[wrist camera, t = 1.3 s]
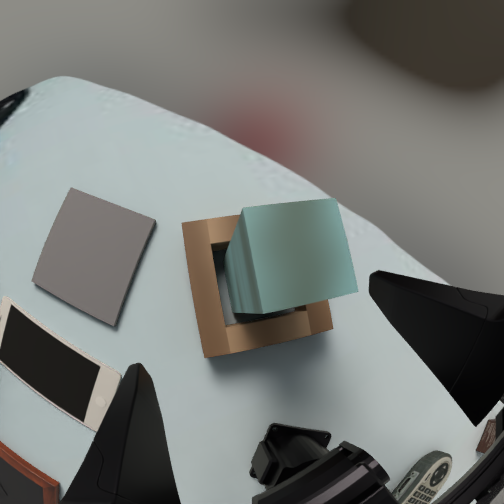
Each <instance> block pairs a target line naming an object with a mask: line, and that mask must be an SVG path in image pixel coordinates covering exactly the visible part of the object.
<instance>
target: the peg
mask: <svg viewBox="0 0 504 504" xmlns="http://www.w3.org/2000/svg"><path fill="white" fill-rule="evenodd" d="M223 264H224V270H225V275H226V281H227V286H228V292H229V297H230V302H231V308H232V312H236V313H256V314H265V313H270V312H274V311H279V310H284V309H288V308H293V307H297V306H302V305H306V304H310V303H315V302H319V301H323V300H327V299H331V298H335V297H339V296H343V295H347V294H351V293H355V292H358V287H357V282H356V277H355V273H354V268H353V264H352V259H351V255H350V251H349V246H348V242H347V238H346V234H345V230H344V227H343V223H342V219H341V215H340V212H339V208H338V204H337V201H336V198H330V199H319V200H309V201H299V202H289V203H280V204H271V205H262V206H254V207H246V208H243V209H242V212H241V214H240V217H239V219H238V222H237V225H236V227H235V230H234V233H233V235H232V238H231V241H230V244H229V246H228V249H227V252H226V254H225V257H224V260H223Z"/></svg>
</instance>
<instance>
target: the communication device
mask: <svg viewBox="0 0 504 504" xmlns="http://www.w3.org/2000/svg"><path fill="white" fill-rule="evenodd" d="M451 467H452V457H451V455H450V454H447V453H444V452H441V451H433V452H431V453H429V454H427V455H425V456H424V457H422V458H421V459H420V460H419V461H418V462H417V463H416V464H415V465H414V466H413V467H412V469H411V470H410V471H409V472H408V474H407V475H406V476H405V478H404V479H403V480H402V481H401V483H400V484H399V485H398V486H397V487H396V489H395V490H394V491H393V492H392V493H391V494H392V495H393V496H394V497H395V498H396V500H397V501H398V502H399V503H400V504H429V503H430V502H431V500H432V499H433V498H434V497H435V495H436V494H437V493H438V491H439V490H440V489H441V487H442V486H443V485H444V483H445V482H446V480H447V478H448V476H449V474H450V471H451Z"/></svg>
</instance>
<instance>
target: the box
mask: <svg viewBox="0 0 504 504" xmlns="http://www.w3.org/2000/svg"><path fill="white" fill-rule="evenodd" d="M495 434H496V419H491V420H488V423H487V426H486V428H485V431H484V433H483V436H482V438H481V441H480V443H479V445H478V447H477V449H476V451H479V452H482V453H485V452H486V451H487V450H488V449H489V448H490V447H491V446H492V444H493V443H494V442H495Z"/></svg>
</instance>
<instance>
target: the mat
mask: <svg viewBox="0 0 504 504" xmlns="http://www.w3.org/2000/svg"><path fill="white" fill-rule="evenodd" d="M155 223H156V220H155V219H152V218H150V217H147V216H144V215H142V214H139V213H136V212H134V211H131V210H129V209H126V208H123V207H121V206H118V205H115V204H113V203H110V202H108V201H105V200H102V199H100V198H97V197H95V196H92V195H89V194H87V193H84V192H82V191H79V190H76V189H74V188H70V190H69V192H68V194H67V196H66V198H65V200H64V202H63V204H62V206H61V208H60V210H59V212H58V215H57V217H56V219H55V221H54V223H53V226H52V228H51V230H50V233H49V235H48V237H47V240H46V242H45V245H44V247H43V250H42V252H41V255H40V258H39V260H38V263H37V266H36V269H35V272H34V275H33V278H32V282H34V283H35V284H37V285H38V286H40V287H42V288H43V289H45V290H47V291H48V292H50V293H52V294H53V295H55V296H57V297H59V298H60V299H62V300H64V301H66V302H67V303H69V304H71V305H73V306H75V307H77V308H78V309H80V310H82V311H84V312H86V313H88V314H90V315H92V316H94V317H96V318H98V319H100V320H102V321H104V322H106V323H108V324H110V325H112V326H116V324H117V321H118V318H119V315H120V312H121V309H122V306H123V303H124V300H125V298H126V295H127V292H128V289H129V287H130V284H131V281H132V279H133V276H134V274H135V271H136V268H137V266H138V263H139V261H140V258H141V256H142V254H143V251H144V249H145V246H146V244H147V242H148V239H149V237H150V235H151V232H152V230H153V228H154V226H155Z"/></svg>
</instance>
